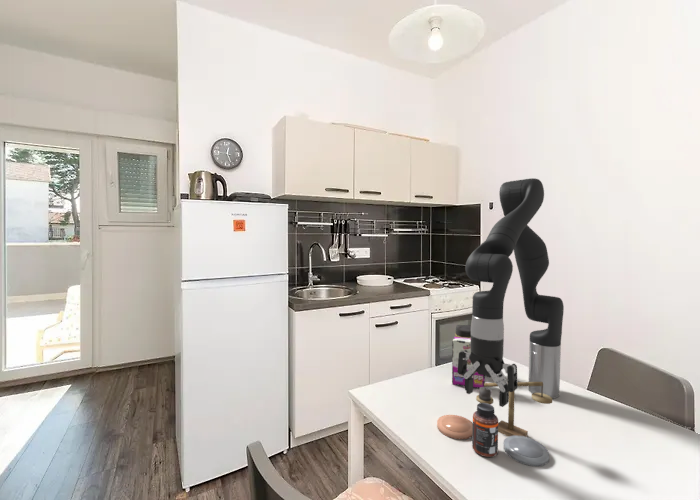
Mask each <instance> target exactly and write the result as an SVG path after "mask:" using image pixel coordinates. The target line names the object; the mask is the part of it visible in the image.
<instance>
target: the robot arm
mask: <svg viewBox="0 0 700 500" xmlns="http://www.w3.org/2000/svg"><path fill="white" fill-rule="evenodd" d="M544 198H545V190H544V184H543V182H542V181H541V180H540V179H538V178H524V179H517V180H511V181H506V182H503V183H502V184H501V185H500V188H499V201H500V206H501V209H502V211H503V217H502V218H500V219H499V220H498V221H497V222H496V223H495V224H494V225H493V226H492V228H491V230H490V232H489V233H488V236H487V237H486V239H485V240H484V241H483V242H482V243H481V244H480V245H479V246H478V247H477V248H475V249H474V250H473V251H472V252H471V254H470V255H469V256H468V257H467V260H466V262H465V266H464V267H465V268H464V269H465V270H464V271H465V274H466V276H467V277H468V278H469V279H470V280H471V281H475V282H479V283H480V282H481V283H489V284H490V283H491V284H492V285H491V286H492V287H491V288H490V290H479V291H476V292H475V293H474V294H473V296H472V311H471V312H472V315H471V316H472V317H471V323H470V325H471V348H470V350H471V353H468V351H467V350H464V351H461V352H459V358H458V371H457V372H458V374H461V375H463V376H464V378H465V386H464V391H465V392H466V394H467V395H471V394H473V392H474V388H473V378H472V376H473V375H474V374H475V373H476V372H478V374H480V375H485V378H486V377H487V378H489V379H492V380H493V383H496V384H497V385H498V388H499V398H498V402H499V403H498V406H499V407H502V408H503V407H505V406H506V405H509V392H513V391H514V390H515V391H516V390H518V388H519V386H518V383H517V382H518V366H517V364H516V363H512V364H510V363H505V362H504V344H505V343H504V340H505V339H504V338H505V336H504V335H505V325H504V323H505V322H504V302H505V296H506V293H507V289H508V285H509V283H510V281H511V278H512V274H513V269H514V268H513V267H514V266H513V262H512V260H511V259H510V256H511V255H512V254H513V253H514V254H513V255H514V258H515V262H516V266H517V270H518V274H519V278H520V279H519V280H520V283H521V289H522V297H523V298H522V299H523V307H524V312H525V315H526V317H527V318H528V319H529V320H530V321H533V322H538V323H543V324H547V328H544V329H539V330H538V329H537V330H533V331H531V332H530V334H529V348H528V349H529V352H528V355H529V357H528V382H543V394H546V395H549V396H550V397H552V399H555V398H556V399H557V398H559V396H560V383H561V350H562V348H561V347H562V335H563V322H564V321H563V319H564V312H565V311H564V302H563V299H562V298H560V297H558V296H553V295H545V294H544V295H542V294H538V292H537V287H538V286H537V285H538V284H539V283H540V280H541V279H542V278H543V277H544V275H545V274H546V272H547V271H548V268H549V266H550V258H549V253H548V248H547V245H546V243H545V242H544V240H543V239H542V238H541V237H540V235H539V234H538V233H537V232H535V231H534V230H533V229H532V228H531V227H530V226H529V225H528V224H529V223H530V222H531V221H532V219H534V217H535V215H536V214H537V213H538V211H539V210H540V208H541V207H542V205H543V202H544ZM469 359H470V361H471V363H472V366H471V368H470V369H469V370H468V371H467V360H469ZM502 370H504V371H505V374H507V375H506V376H505V374H504V373H503V371H502ZM506 377H507V380H506ZM507 382H508V383H507ZM527 387H528V391H529V393H531V394H533V393H541V389H542V386H527Z"/></svg>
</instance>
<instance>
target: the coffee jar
mask: <svg viewBox="0 0 700 500" xmlns="http://www.w3.org/2000/svg"><path fill="white" fill-rule="evenodd" d="M454 335H455V336H454V337H461V338H471V324H457V325H456V327H455V332H454Z"/></svg>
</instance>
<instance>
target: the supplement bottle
mask: <svg viewBox="0 0 700 500" xmlns="http://www.w3.org/2000/svg"><path fill="white" fill-rule="evenodd" d="M472 423H473V429H472V437H471V439H472V440H471V446H472V450H473V451H474V452H475V453H476V454H478V455H479V456H482V457H487V458H493V457H495V456H497V455H498V452H499V451H498V449H499V448H498V447H499V432H498V423H499V418H498V417H497V415H496V414H495V407H494V405H492V404H487V403H480V402H478V403H477V405H476V411H474V412H473V415H472Z"/></svg>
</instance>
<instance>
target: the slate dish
mask: <svg viewBox="0 0 700 500" xmlns="http://www.w3.org/2000/svg"><path fill="white" fill-rule="evenodd" d="M503 450H504V453H505V454H506V455H507V456H509V457H510V459H513V460H514V461H516V462H518V463H521V464H522V465H526V466H530V467H542V466H546V464H548V463H549V462H550V461H549V460H550V451H549V449H548V448H547V447H546V446H545V445H543V444H542V443H541V442H539V441H537V440H536V439H534V438H531V437H528V436H527V437H524V436H509V437H508V436H506V437H505V439H503Z"/></svg>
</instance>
